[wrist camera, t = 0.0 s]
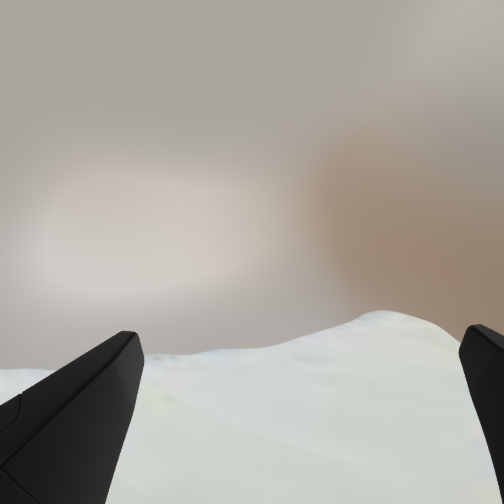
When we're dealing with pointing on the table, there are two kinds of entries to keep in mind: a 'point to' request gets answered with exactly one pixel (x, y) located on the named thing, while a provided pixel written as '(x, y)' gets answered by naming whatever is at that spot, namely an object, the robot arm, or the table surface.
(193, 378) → the table surface
